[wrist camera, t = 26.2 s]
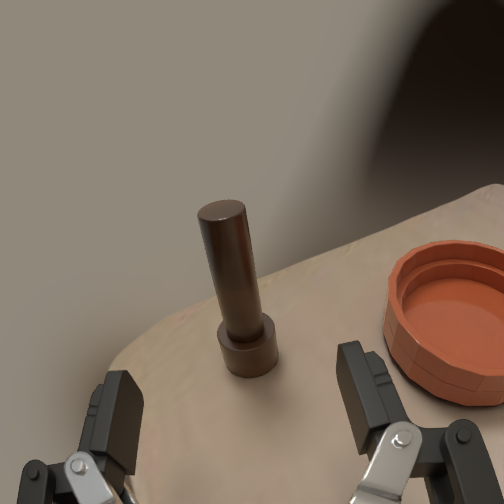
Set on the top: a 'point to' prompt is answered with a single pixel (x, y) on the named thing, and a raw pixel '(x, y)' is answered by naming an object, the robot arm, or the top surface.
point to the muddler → (237, 290)
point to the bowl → (449, 320)
